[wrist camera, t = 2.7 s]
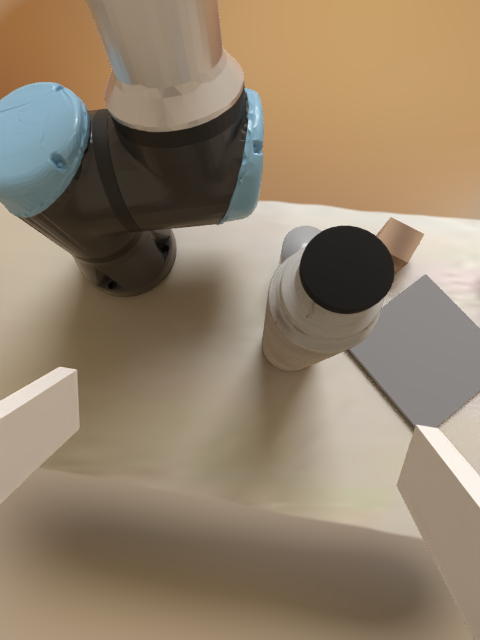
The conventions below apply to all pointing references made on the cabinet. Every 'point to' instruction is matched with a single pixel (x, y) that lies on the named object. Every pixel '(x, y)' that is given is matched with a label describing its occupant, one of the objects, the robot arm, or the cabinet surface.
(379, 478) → the cabinet surface
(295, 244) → the grey rounded cylinder
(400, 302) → the gray mat
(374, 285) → the thermos bottle
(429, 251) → the cabinet surface
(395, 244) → the walnut block
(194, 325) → the cabinet surface
